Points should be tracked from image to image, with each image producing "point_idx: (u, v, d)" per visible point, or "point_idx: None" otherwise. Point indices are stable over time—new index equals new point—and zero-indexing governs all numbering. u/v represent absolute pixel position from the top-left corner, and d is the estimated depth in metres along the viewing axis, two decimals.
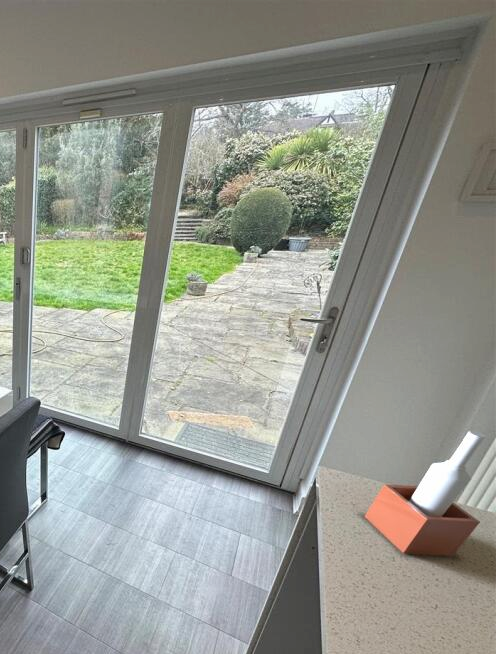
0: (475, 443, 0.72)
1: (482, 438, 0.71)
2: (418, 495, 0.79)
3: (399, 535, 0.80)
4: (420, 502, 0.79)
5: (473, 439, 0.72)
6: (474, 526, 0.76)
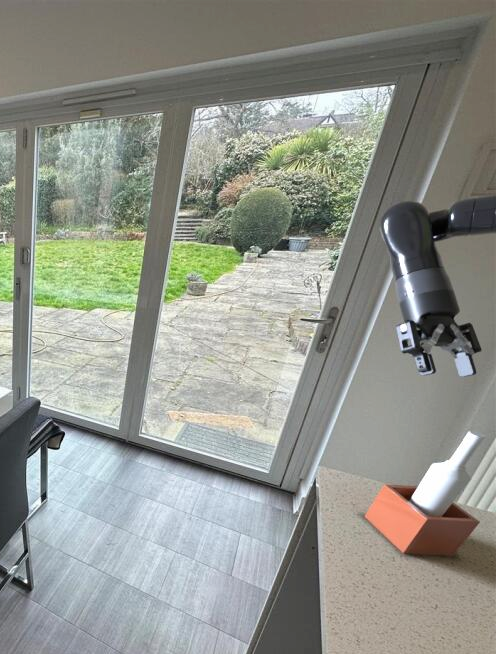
0: (475, 443, 0.72)
1: (482, 438, 0.71)
2: (418, 495, 0.79)
3: (399, 535, 0.80)
4: (420, 502, 0.79)
5: (473, 439, 0.72)
6: (474, 526, 0.76)
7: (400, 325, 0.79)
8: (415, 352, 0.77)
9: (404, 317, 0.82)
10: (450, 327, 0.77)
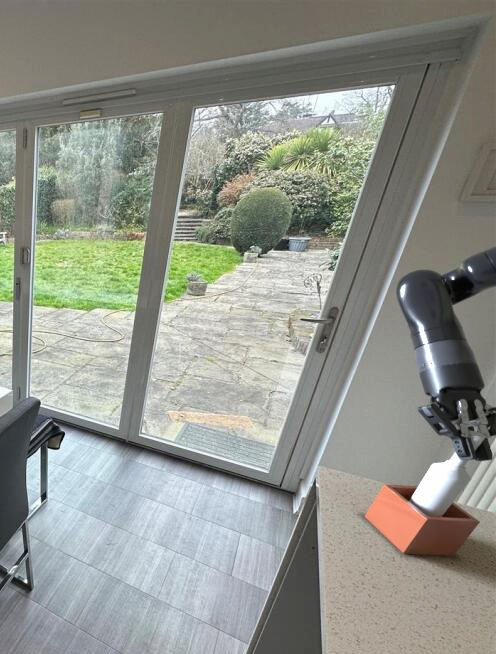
0: (475, 443, 0.72)
1: (482, 438, 0.71)
2: (418, 495, 0.79)
3: (399, 535, 0.80)
4: (420, 502, 0.79)
5: (473, 439, 0.72)
6: (474, 526, 0.76)
7: (422, 408, 0.75)
8: (451, 435, 0.73)
9: (424, 389, 0.78)
10: (473, 401, 0.73)
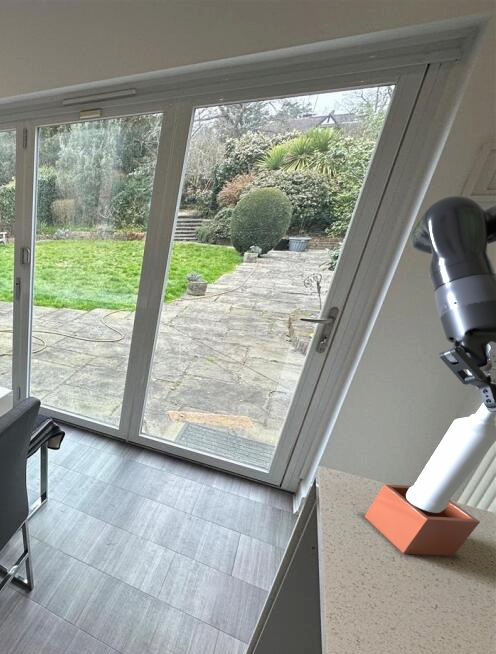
0: None
1: None
2: (438, 455, 0.69)
3: (399, 535, 0.80)
4: (440, 463, 0.69)
5: None
6: (474, 526, 0.76)
7: (444, 354, 0.66)
8: (479, 383, 0.63)
9: (446, 334, 0.68)
10: None
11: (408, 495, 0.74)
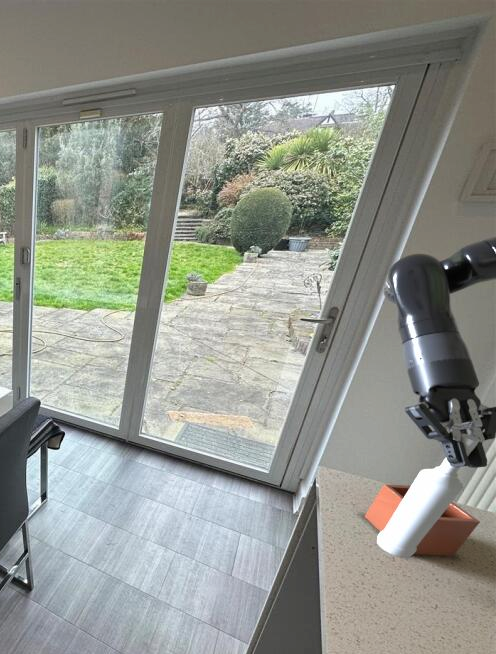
0: (468, 448, 0.64)
1: (476, 442, 0.64)
2: (406, 504, 0.72)
3: None
4: (407, 512, 0.71)
5: (466, 443, 0.64)
6: (474, 526, 0.76)
7: (409, 409, 0.68)
8: (442, 438, 0.66)
9: (412, 387, 0.71)
10: (466, 401, 0.66)
11: (378, 539, 0.77)
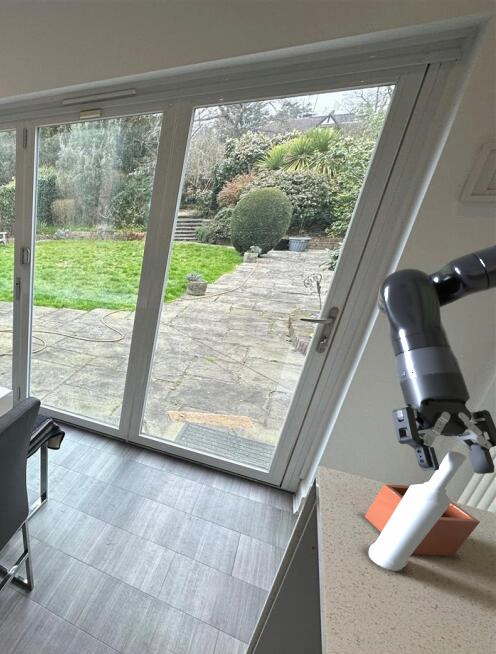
0: (455, 465, 0.66)
1: (463, 459, 0.66)
2: (396, 518, 0.73)
3: None
4: (398, 526, 0.73)
5: (453, 460, 0.66)
6: (474, 526, 0.76)
7: (397, 410, 0.70)
8: (413, 443, 0.67)
9: (405, 400, 0.72)
10: (458, 416, 0.67)
11: (370, 552, 0.78)
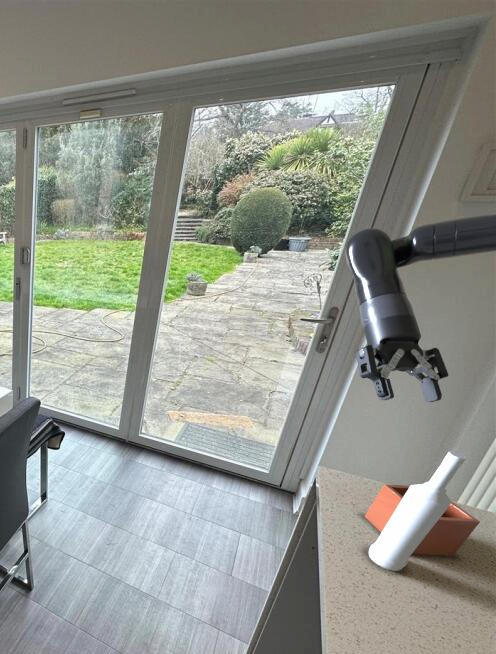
0: (455, 465, 0.66)
1: (463, 459, 0.66)
2: (396, 518, 0.73)
3: None
4: (398, 526, 0.73)
5: (453, 460, 0.66)
6: (474, 526, 0.76)
7: (359, 350, 0.80)
8: (372, 376, 0.77)
9: (367, 342, 0.82)
10: (411, 352, 0.77)
11: (370, 552, 0.78)
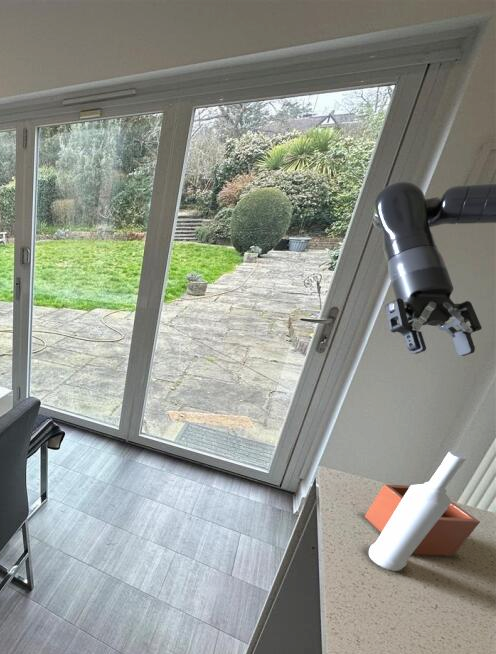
0: (455, 465, 0.66)
1: (463, 459, 0.66)
2: (396, 518, 0.73)
3: None
4: (398, 526, 0.73)
5: (453, 460, 0.66)
6: (474, 526, 0.76)
7: (389, 304, 0.78)
8: (403, 330, 0.76)
9: (396, 297, 0.80)
10: (443, 305, 0.75)
11: (370, 552, 0.78)
